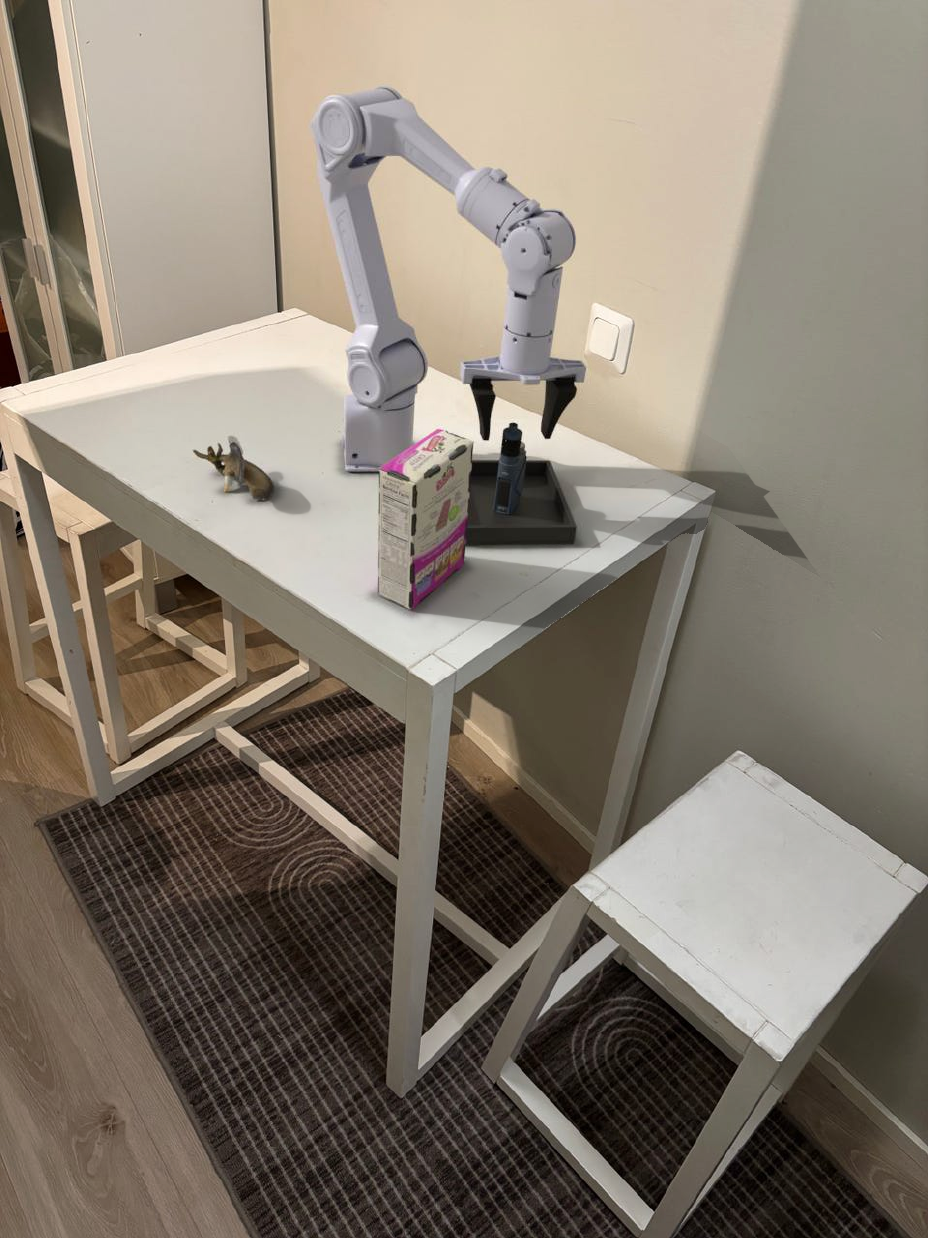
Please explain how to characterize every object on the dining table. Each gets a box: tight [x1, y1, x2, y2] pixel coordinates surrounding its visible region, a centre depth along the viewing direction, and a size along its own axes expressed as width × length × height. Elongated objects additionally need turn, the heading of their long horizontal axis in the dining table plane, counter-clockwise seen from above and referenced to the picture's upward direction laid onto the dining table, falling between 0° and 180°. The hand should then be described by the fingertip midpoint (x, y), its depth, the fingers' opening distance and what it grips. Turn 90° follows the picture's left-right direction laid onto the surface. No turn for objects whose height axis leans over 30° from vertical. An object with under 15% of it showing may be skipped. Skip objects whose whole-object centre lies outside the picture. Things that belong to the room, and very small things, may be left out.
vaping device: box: [494, 422, 527, 515], centre depth 119 cm, size 3×5×12 cm, turn 158°
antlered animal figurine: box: [192, 435, 275, 502], centre depth 120 cm, size 8×7×9 cm
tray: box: [465, 459, 578, 546], centre depth 122 cm, size 14×16×2 cm
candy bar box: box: [377, 428, 475, 611], centre depth 104 cm, size 11×5×16 cm, turn 148°
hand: (515, 435), depth 116 cm, fingers open, 7 cm apart
